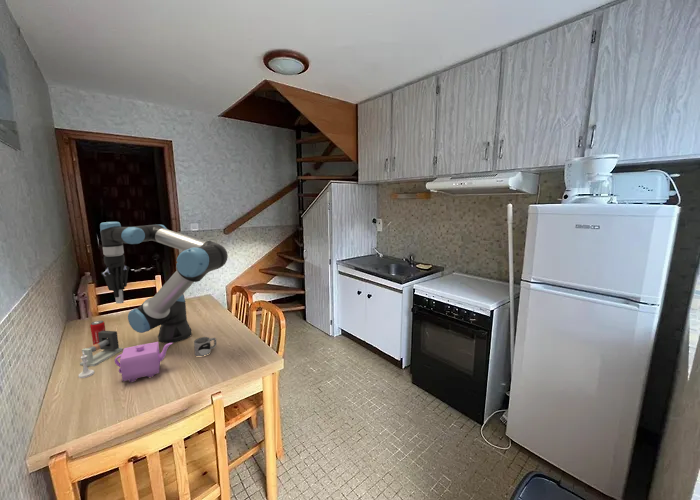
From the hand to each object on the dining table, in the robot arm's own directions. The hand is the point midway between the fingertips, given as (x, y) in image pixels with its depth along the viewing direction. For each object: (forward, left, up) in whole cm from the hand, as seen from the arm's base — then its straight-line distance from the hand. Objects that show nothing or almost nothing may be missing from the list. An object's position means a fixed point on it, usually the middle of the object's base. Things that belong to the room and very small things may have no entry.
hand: (119, 302), depth 141 cm
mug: (-44, +2, -22) cm, 49 cm away
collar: (0, +8, -19) cm, 21 cm away
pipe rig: (0, +12, -22) cm, 25 cm away
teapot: (-30, +21, -22) cm, 43 cm away
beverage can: (+11, +2, -22) cm, 25 cm away
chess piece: (-6, +25, -22) cm, 34 cm away
